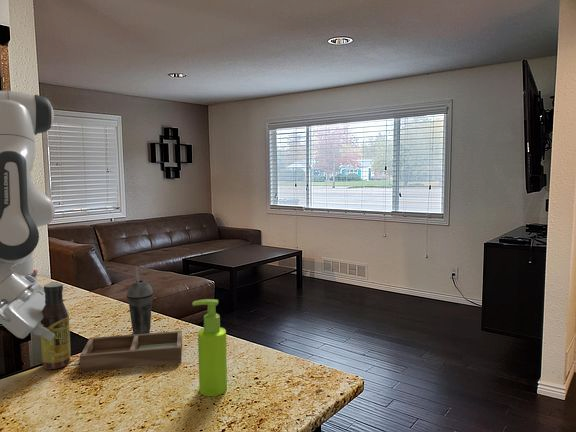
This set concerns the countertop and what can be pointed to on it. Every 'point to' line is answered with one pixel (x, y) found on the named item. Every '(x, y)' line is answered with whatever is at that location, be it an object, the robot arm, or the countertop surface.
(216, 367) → the soap dispenser
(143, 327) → the beverage cup
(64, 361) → the sauce bottle
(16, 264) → the robot arm
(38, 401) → the countertop surface
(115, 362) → the caddy
